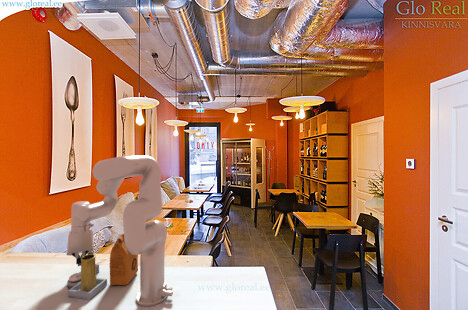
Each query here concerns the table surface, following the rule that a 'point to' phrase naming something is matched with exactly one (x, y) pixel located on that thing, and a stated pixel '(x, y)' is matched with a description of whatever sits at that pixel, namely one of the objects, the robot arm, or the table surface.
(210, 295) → the table surface
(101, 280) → the tray
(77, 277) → the crank
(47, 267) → the table surface
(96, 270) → the post
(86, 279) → the vase
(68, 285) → the disc
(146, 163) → the robot arm
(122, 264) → the coffee package
